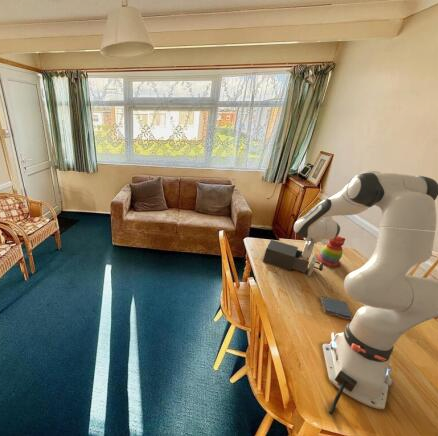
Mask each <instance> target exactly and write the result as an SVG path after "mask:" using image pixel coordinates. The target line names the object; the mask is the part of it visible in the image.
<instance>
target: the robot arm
mask: <svg viewBox="0 0 438 436" xmlns="http://www.w3.org/2000/svg"><path fill="white" fill-rule="evenodd" d="M437 198H438V182H437V181H436V180H435V179H433V178H431V177H427V176H425V175H424V176H423V175H411V174H403V173H397V172H381V171H378V170H366V171H363V172H361V173H357V174H355V175H354V176H353V177H352V178H351V179H350V180H349V181H348V183H347V184H346V185H345V186H344V187H342V189H341V190H340V191H338V192H337V193H335V194H334V195H332V196H330V197H328V198H325V199H322V200H321V201H320V202H318V203H317V204H315V206H314V207H312V208H311V209H310V210H309V211H308V212H307V213H305V214H304V215H303V216H301V217H299V218H298V219H297V220H296V221H295V222H294V224H293V228H292V229H293V233H294V234H295V235H296V236H297V237H298V238H300V239H303V240H304V245H303V248H302V251H303V252H302V256H303V258H302V259H303V260H306V259H307V258H309V259H310V258H311V255H312V253H313V249H314V247H315V244H318V243H319V242H321V241H322V240H327V241H329V240H333V239H335V238H336V237H337V236H339V235H340V232H341V226H340V225H339V223H338V222H337V221H335V220H334V219H333V217H335V216H336V217H337V216H354V215H359V214H361V213H363V212H365V211H367V210H368V209H370V208H372V207H373V206H376V207H378V209H380V211H381V218H380V222H379V228H378V233H377V234H378V235H377V240H376V244H375V247H374V251H373V253H372V255H371V256H370V257H369V259H368V260H367V261H366V262H365V263H364V264H363V265H362V266H360V267H358V268H357V269H355V270H352V271H350V272H349V273H347V274H346V276H345V278H344V280H343V288H344V289H343V290H344V291H345V294H346V295H347V296H348V298H349V299H351V300H352V301H353V302H356V303H358V304H361V305H362V306H360V307H359V308H358V309H357V310H356V312H355V314H354V316H352V319H351V321H350V322H348V323H347V324H346V325H345V327H344V330H343V331H342V332H338V333H336V334H335V335H334V332H332V333H331V341H330V343H323V344H322V351H323V352H322V353H323V357H324V362H325V367H326V371H327V376H328V380H329V383H331V384H332V385H333V386H334V387H336V388H337V389H338V391H337V393H336V395H335V397H334V399H333V402H332V404H331V405H330V408H329V411H328V414H329V415H333V413H334V411H335V408H336V406H337V404H338V402H339V401H340V398H341V396H342V394H343V393H344V394H345V395H346V396H348V397H350V398H352V399H354V400H355V401H357V402H359V403H361V404H363V405H366V406H368V407H370V408H373V409H377V410H385V407H386V404H387V398H388V392H389V386H390V387H391V385H393V381H394V380H393V378H391V375H390V373H389V372H392V370H393V366H390V362H391V359H392V354H393V351H394V347H395V344H396V343H397V342H398V340H399V339H400V338H401V337H402V336H403V335H404V334H405V333H406V332H407V331H409V330H411V329H412V328H414V327H416V326H418V325H419V324H422V323H424V322H427V321H429V320H432V319H436V318H438V280H435V279H431V278H428V277H423V276H417V275H407V274H408V272H409V271H410V270H411V269H412V268H413V267H415V266H417V265H418V264H423V263H425V262H427V261H429V260H430V259H431V258H432V255H433V249H434V243H435V236H436V229H437V207H436V199H437Z"/></svg>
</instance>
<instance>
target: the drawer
mask: <svg viewBox="0 0 438 436" xmlns="http://www.w3.org/2000/svg"><path fill="white" fill-rule="evenodd" d="M302 252H303V250H300V249H297V252H296V255H295V258H294V261H293V264H292V267H291V270H292V269H293V270H295V271H299V272H302V273H304V274H305V273H306V272H307V276H311V275H312V273H313V270H314V269H316V270H318V271H320V272H323V269H324V264H323V263H322V262H320V261H316V259H317V253H313V254H312V257H311V260H310V258H308V261H306V260H303V259H300V258H299V256H301V257H303V256H302ZM309 260H310V261H309ZM316 264H319V267H317V266H315V265H316ZM307 269H308V271H307Z"/></svg>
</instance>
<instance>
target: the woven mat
mask: <svg viewBox="0 0 438 436" xmlns="http://www.w3.org/2000/svg"><path fill="white" fill-rule="evenodd" d="M319 300H320V304H322V311H323V312H324V313H325V314H327V315H331V316H337V317H339V318H342V319H346V320H351V321H352V319H353V315H352V314H351V310H350V309H349V305H348V303H347V302H346V301H343V300H339V299H338V300H337V299H335V298H332V297H327V296H326V297H325V296H323V295H322V296H320V297H319Z"/></svg>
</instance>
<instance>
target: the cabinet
mask: <svg viewBox="0 0 438 436" xmlns="http://www.w3.org/2000/svg"><path fill="white" fill-rule="evenodd" d="M297 250H299V247H298V246H295V245H292V244H288V243H285V242H281V241H277V240H275V239H270V241H269V243H268V244H267V246H266V248H265V251H264V256H263V260H262V262H263V263H266V264H268V265H271V266H274V267H277V268H280V269H283V270H287V271H289V272H291V270H292V268H291V267H292V264H293V261H294V258H295V255H296V252H297Z"/></svg>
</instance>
